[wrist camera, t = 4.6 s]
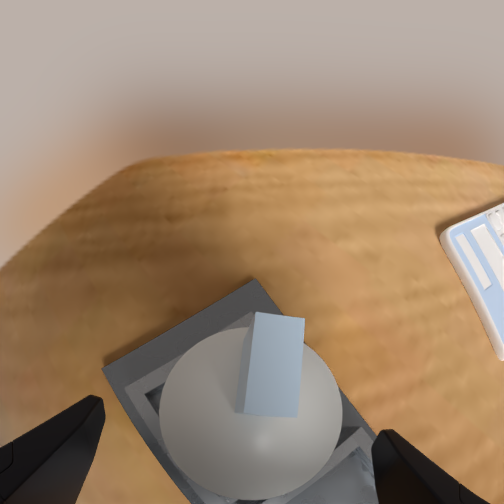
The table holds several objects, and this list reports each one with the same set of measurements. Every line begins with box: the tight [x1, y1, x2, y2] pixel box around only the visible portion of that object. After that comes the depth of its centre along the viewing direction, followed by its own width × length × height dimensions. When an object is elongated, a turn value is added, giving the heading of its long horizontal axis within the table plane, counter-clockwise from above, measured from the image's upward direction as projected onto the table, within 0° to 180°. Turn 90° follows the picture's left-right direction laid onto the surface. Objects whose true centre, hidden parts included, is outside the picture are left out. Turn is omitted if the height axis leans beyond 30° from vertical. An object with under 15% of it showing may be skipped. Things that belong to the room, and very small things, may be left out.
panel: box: [102, 278, 379, 504], centre depth 14 cm, size 11×21×2 cm, turn 36°
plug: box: [159, 312, 342, 500], centre depth 11 cm, size 5×5×12 cm
